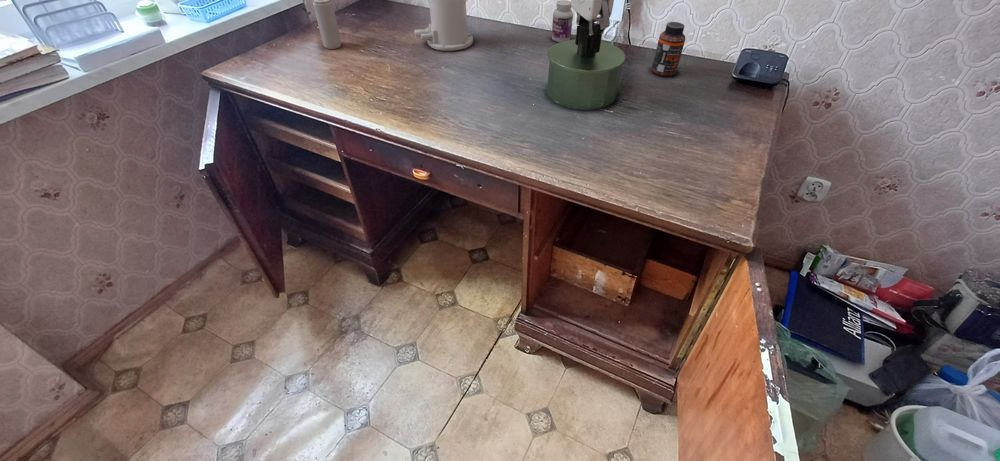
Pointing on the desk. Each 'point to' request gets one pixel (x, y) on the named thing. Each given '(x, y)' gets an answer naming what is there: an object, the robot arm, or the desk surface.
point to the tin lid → (585, 55)
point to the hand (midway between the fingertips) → (587, 47)
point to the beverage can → (327, 23)
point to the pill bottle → (562, 21)
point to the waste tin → (582, 88)
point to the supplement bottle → (669, 49)
